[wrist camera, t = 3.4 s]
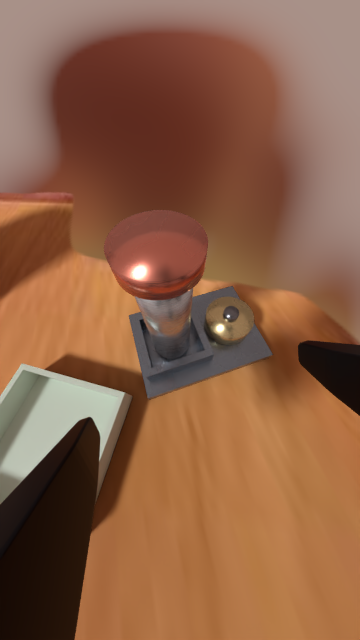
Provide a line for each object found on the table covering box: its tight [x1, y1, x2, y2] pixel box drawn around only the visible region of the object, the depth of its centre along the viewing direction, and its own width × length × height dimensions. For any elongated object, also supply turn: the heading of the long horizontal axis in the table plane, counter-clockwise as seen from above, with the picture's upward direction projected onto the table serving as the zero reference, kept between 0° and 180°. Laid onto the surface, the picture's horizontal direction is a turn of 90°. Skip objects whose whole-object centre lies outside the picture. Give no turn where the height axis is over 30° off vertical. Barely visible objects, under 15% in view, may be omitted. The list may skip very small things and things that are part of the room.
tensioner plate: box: [129, 286, 273, 400], centre depth 21 cm, size 10×14×4 cm
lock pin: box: [104, 210, 208, 359], centre depth 15 cm, size 5×5×14 cm
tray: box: [0, 364, 133, 504], centre depth 17 cm, size 11×11×3 cm
